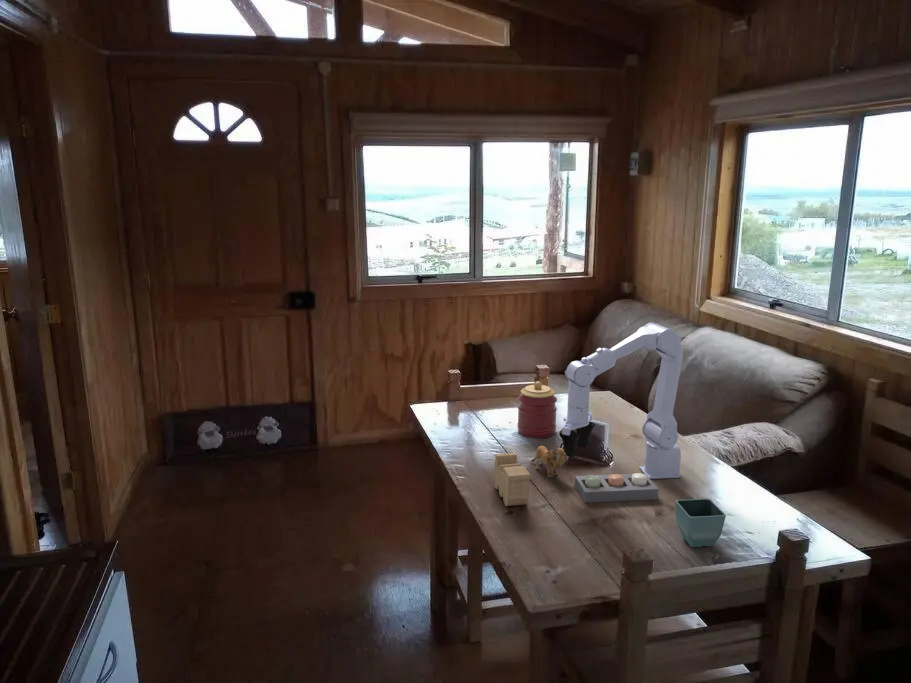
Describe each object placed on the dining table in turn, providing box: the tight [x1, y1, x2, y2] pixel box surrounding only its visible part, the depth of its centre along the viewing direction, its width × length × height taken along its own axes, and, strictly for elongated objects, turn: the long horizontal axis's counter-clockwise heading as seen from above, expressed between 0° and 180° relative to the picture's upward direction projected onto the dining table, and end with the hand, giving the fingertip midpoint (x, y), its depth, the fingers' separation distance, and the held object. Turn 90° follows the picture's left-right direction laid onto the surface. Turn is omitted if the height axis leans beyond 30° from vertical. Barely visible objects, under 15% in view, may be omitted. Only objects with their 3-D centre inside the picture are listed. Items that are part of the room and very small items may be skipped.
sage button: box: [585, 474, 600, 488], centre depth 186 cm, size 4×4×3 cm
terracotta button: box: [608, 473, 624, 487], centre depth 187 cm, size 4×4×3 cm
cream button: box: [631, 472, 647, 486], centre depth 188 cm, size 4×4×3 cm
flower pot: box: [674, 498, 727, 548], centre depth 162 cm, size 9×9×9 cm
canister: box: [516, 380, 558, 439], centre depth 230 cm, size 13×13×18 cm
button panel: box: [574, 472, 659, 503], centre depth 187 cm, size 20×10×3 cm, turn 95°
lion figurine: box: [530, 445, 570, 478], centre depth 200 cm, size 15×5×9 cm, turn 33°
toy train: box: [492, 452, 531, 507], centre depth 185 cm, size 6×17×10 cm, turn 11°
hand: (576, 451), depth 191 cm, fingers open, 7 cm apart
